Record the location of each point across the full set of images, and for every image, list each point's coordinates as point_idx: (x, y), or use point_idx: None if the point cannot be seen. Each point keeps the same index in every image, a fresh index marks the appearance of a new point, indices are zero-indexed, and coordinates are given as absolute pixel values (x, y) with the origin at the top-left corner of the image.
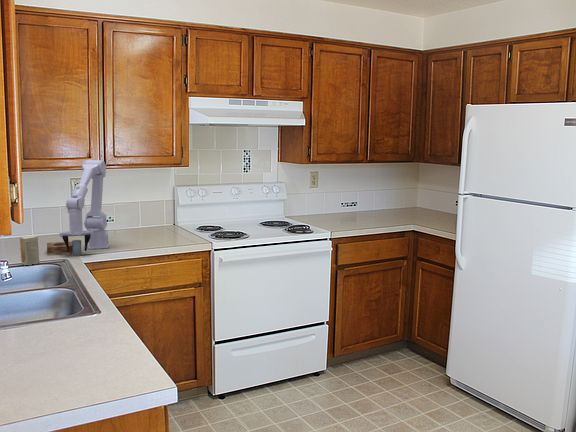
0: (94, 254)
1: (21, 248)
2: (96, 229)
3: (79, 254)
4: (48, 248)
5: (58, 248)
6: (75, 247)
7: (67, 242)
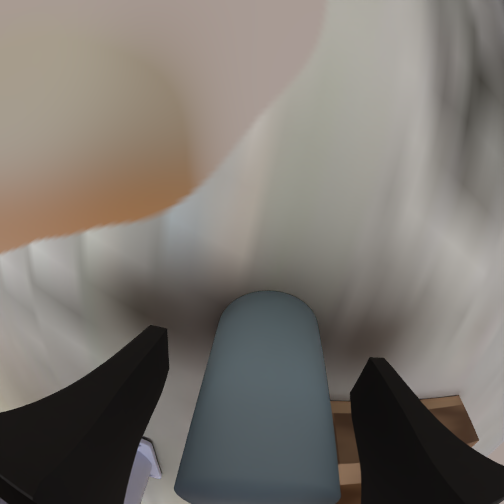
0: (92, 281)
1: None
2: None
3: (249, 302)
4: (469, 435)
5: None
6: (302, 383)
7: (441, 456)
